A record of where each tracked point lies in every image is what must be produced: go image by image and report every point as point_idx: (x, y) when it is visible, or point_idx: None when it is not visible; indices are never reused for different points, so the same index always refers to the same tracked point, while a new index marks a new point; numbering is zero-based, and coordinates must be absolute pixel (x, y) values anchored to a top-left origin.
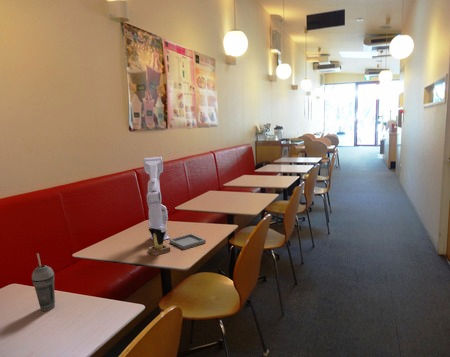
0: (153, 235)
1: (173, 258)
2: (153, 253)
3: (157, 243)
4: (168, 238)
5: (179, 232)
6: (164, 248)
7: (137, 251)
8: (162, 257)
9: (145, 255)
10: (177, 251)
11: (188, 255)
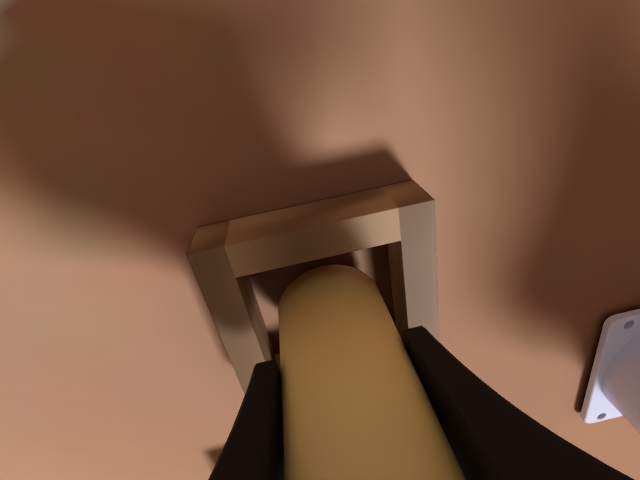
0: (466, 435)
1: (9, 373)
2: (251, 220)
3: (288, 362)
4: (583, 408)
5: (633, 474)
6: (243, 367)
7: (520, 34)
8: (90, 286)
9: (277, 108)
10: (210, 422)
11: (53, 476)
